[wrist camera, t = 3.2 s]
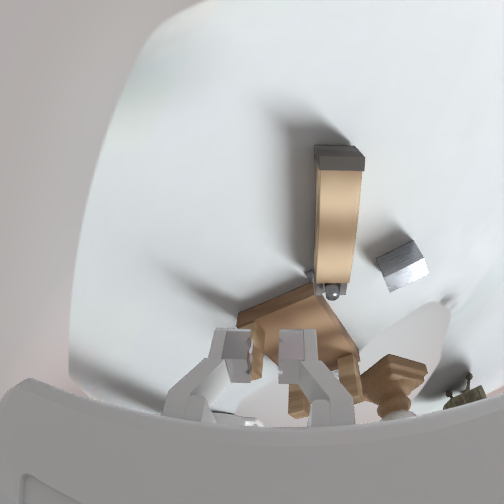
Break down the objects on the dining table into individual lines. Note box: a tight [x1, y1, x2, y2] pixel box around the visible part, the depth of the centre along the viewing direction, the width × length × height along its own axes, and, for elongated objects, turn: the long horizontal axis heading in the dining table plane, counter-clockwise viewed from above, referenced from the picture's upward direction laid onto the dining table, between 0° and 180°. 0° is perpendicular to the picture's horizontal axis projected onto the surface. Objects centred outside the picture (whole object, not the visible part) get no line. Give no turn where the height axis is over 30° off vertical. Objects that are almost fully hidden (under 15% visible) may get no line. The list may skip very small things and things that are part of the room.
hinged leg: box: [314, 145, 365, 295], centre depth 28 cm, size 15×4×4 cm, turn 5°
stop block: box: [376, 240, 429, 292], centre depth 30 cm, size 2×5×4 cm, turn 125°
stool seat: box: [236, 282, 363, 419], centre depth 36 cm, size 16×11×9 cm
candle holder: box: [360, 354, 428, 422], centre depth 36 cm, size 11×11×24 cm
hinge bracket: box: [306, 269, 339, 301], centre depth 32 cm, size 4×3×5 cm
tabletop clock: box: [443, 373, 487, 410], centre depth 39 cm, size 14×9×25 cm, turn 29°
